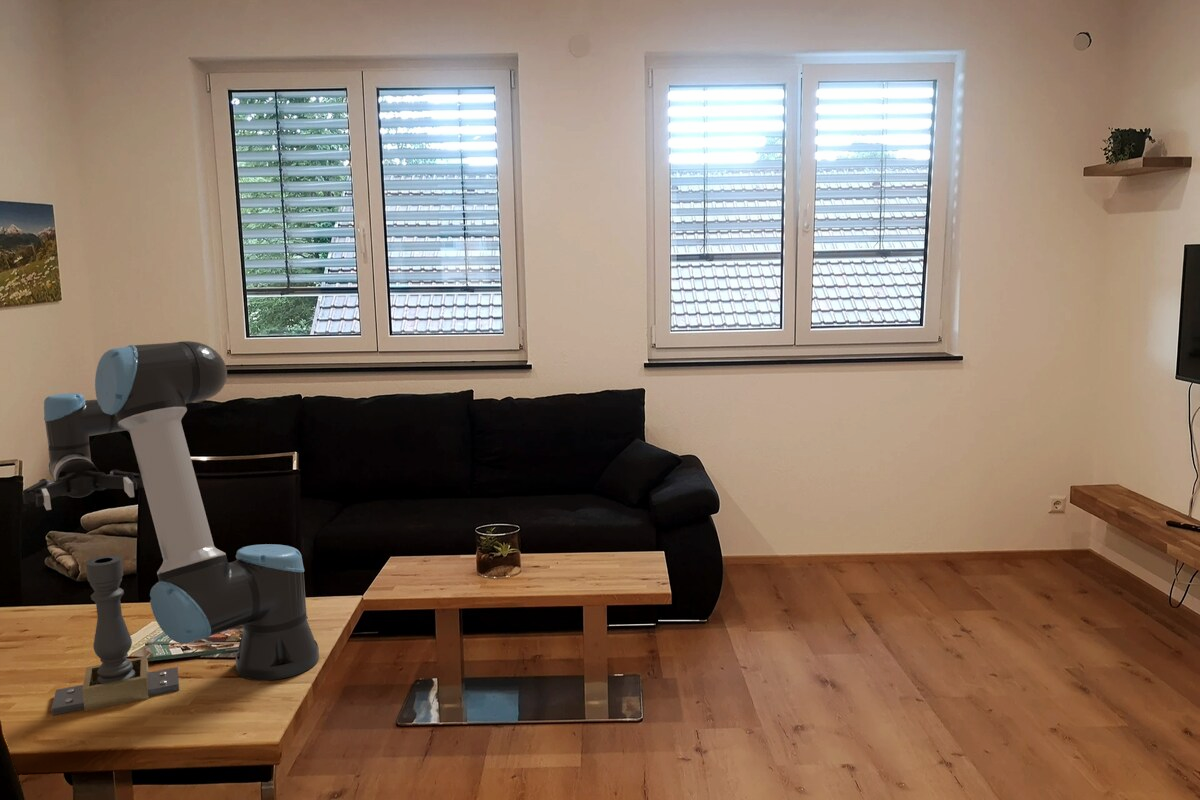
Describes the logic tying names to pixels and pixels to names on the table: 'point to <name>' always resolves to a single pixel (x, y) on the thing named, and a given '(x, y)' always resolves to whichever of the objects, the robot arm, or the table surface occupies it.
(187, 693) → the table surface
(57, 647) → the table surface
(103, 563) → the candle holder
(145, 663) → the square socket fixture
